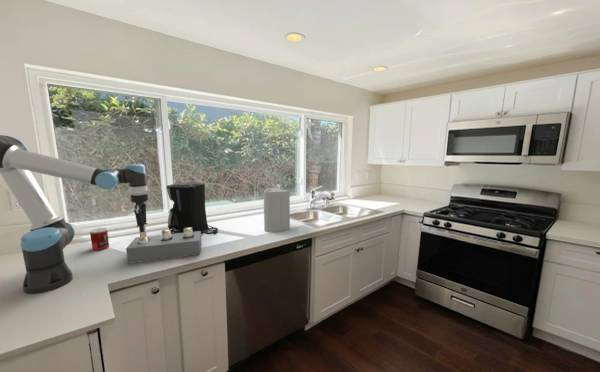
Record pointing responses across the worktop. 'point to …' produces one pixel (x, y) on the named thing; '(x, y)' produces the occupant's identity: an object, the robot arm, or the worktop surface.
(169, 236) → the knob middle
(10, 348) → the worktop surface
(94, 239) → the canned food
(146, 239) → the knob near
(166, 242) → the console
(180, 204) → the coffee maker
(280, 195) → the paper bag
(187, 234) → the knob far
